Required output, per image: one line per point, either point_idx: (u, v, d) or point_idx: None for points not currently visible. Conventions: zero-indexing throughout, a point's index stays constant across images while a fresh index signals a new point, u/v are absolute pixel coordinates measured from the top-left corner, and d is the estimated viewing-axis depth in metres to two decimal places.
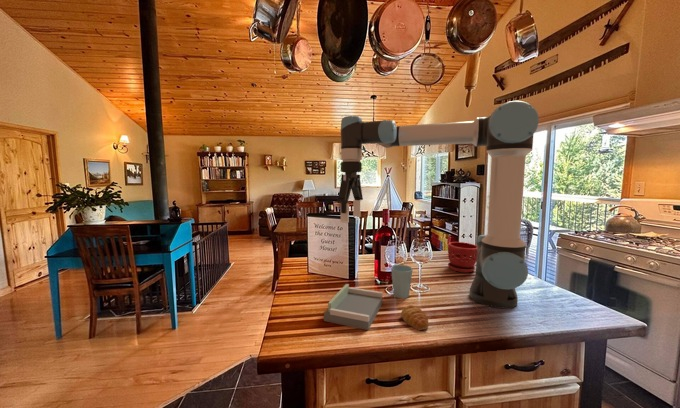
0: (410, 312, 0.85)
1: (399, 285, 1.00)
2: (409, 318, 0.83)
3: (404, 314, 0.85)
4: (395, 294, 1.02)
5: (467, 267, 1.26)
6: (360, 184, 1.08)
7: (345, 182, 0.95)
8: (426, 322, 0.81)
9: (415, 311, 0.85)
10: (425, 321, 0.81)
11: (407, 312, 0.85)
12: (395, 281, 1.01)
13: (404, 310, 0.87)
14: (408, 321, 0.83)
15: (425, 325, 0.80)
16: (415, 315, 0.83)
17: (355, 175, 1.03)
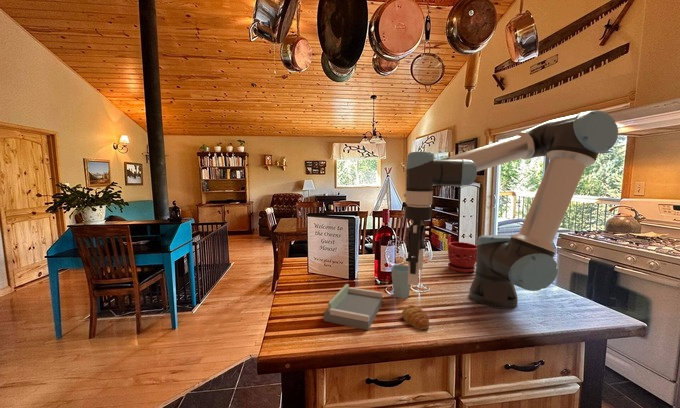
0: (411, 311, 0.85)
1: (399, 285, 1.00)
2: (410, 318, 0.83)
3: (405, 314, 0.85)
4: (395, 294, 1.02)
5: (467, 267, 1.26)
6: None
7: (416, 235, 0.75)
8: (427, 322, 0.81)
9: (416, 311, 0.85)
10: (426, 321, 0.81)
11: (408, 311, 0.85)
12: (395, 281, 1.01)
13: (405, 310, 0.87)
14: (409, 321, 0.83)
15: (426, 325, 0.80)
16: (416, 315, 0.83)
17: (422, 222, 0.83)
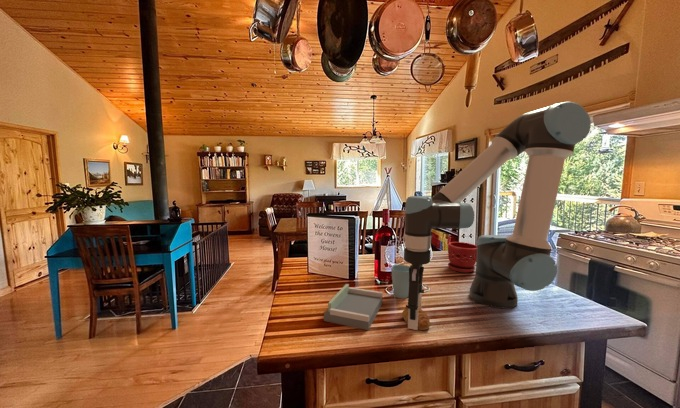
0: None
1: (399, 285, 1.00)
2: None
3: (405, 314, 0.85)
4: (395, 294, 1.02)
5: (467, 267, 1.26)
6: None
7: (415, 284, 0.77)
8: (428, 322, 0.81)
9: None
10: (427, 321, 0.81)
11: None
12: (395, 281, 1.01)
13: (405, 310, 0.86)
14: None
15: (427, 325, 0.80)
16: None
17: None
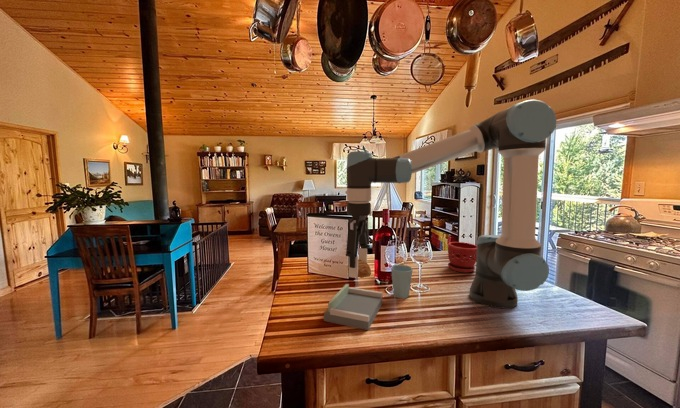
0: None
1: (399, 285, 1.00)
2: None
3: None
4: (395, 294, 1.02)
5: (467, 267, 1.26)
6: None
7: (353, 232, 0.81)
8: (368, 271, 0.85)
9: (359, 262, 0.89)
10: (367, 270, 0.85)
11: None
12: (395, 281, 1.01)
13: None
14: None
15: (367, 273, 0.84)
16: (359, 265, 0.87)
17: (363, 216, 0.89)
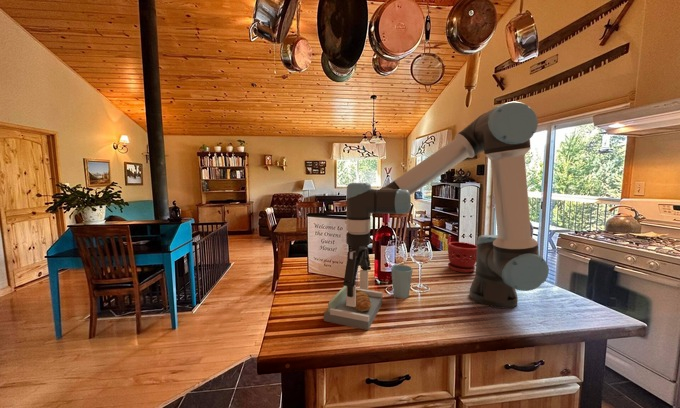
0: None
1: (399, 285, 1.00)
2: None
3: None
4: (395, 294, 1.02)
5: (467, 267, 1.26)
6: None
7: (352, 261, 0.82)
8: (368, 304, 0.86)
9: (359, 295, 0.90)
10: (367, 303, 0.86)
11: None
12: (395, 281, 1.01)
13: None
14: None
15: (367, 307, 0.85)
16: (359, 298, 0.88)
17: (363, 247, 0.90)
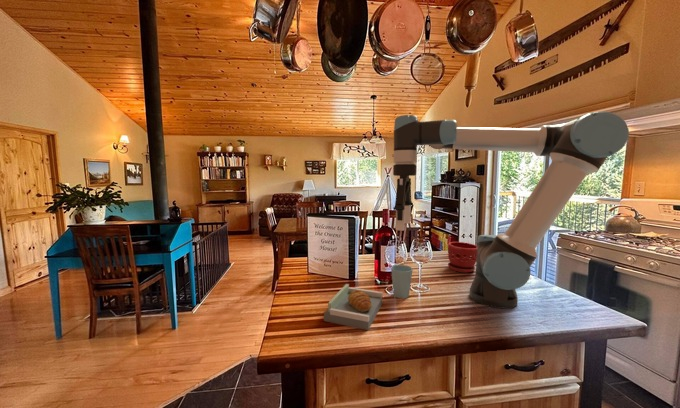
0: (355, 295, 0.90)
1: (399, 285, 1.00)
2: (354, 302, 0.88)
3: (350, 298, 0.90)
4: (395, 294, 1.02)
5: (467, 267, 1.26)
6: None
7: (402, 187, 0.87)
8: (368, 304, 0.86)
9: (360, 295, 0.90)
10: (368, 303, 0.86)
11: (353, 296, 0.90)
12: (395, 281, 1.01)
13: (350, 294, 0.92)
14: (353, 304, 0.88)
15: (367, 307, 0.85)
16: (359, 298, 0.88)
17: (408, 179, 0.95)
